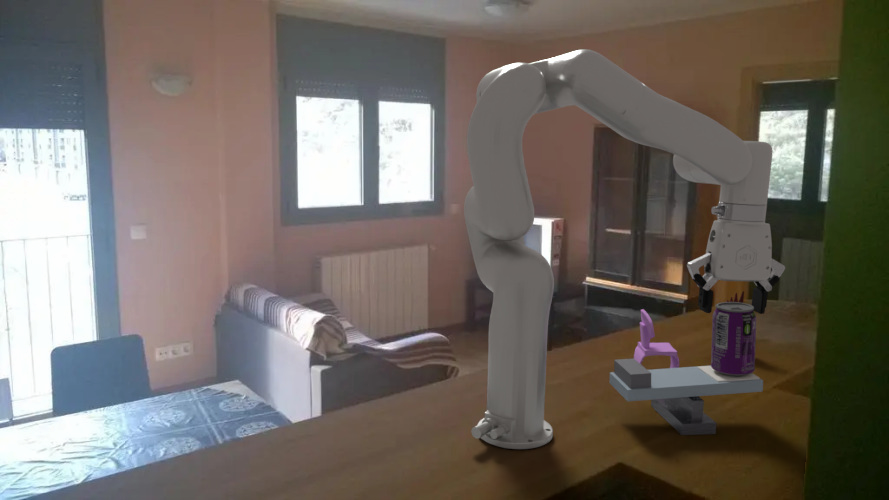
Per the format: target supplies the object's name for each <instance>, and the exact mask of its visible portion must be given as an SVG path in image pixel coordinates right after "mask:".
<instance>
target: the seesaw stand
mask: <svg viewBox="0 0 889 500" xmlns="http://www.w3.org/2000/svg"><path fill="white" fill-rule="evenodd" d="M650 402H651V403H650V407H652V409H653V410H655V412H657V414H659V416H661V417H662V418H663V419H664V420H665V422H667V423H669V425H670V426H671V427H672V428H673V429H675V430H676V431H677V433H679V434H680V436H699V435H700V436H701V435H716V434H717V433H716V432H717V422H716V421H715V420H713V419H712V418H711V417H710V416H709V415H708V414H706V413H705V412H704V405H705V400H704V399H703V398H701V396H695V397H681V398H668V399H654V400H651V401H650Z"/></svg>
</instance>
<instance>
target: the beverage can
mask: <svg viewBox="0 0 889 500" xmlns="http://www.w3.org/2000/svg"><path fill="white" fill-rule="evenodd" d="M753 310H754V307H753V306H752V304H749V303H744V302H743V303H739V301H738V302H734V301H733V302H730V301H729V302H726V301H723V302H718V303H716V304H715V310H714V311H713V313H712V322H711V323H712V324H711V325H712V327H711V328H712V329H711V357H710V358H711V360H710V362H711V363H710V365H711V367H712V368H713V369H714V370H716V371H718V372H719V373H721V374H723V375H727V376H734V377H739V376H745V375H747V374H750V373H754V372H755V364H756V344H757V343H756V338H757V315H756V314H755V313H756V312H755V311H753Z"/></svg>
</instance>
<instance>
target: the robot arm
mask: <svg viewBox="0 0 889 500" xmlns="http://www.w3.org/2000/svg"><path fill="white" fill-rule="evenodd" d="M475 96H476V97H475V99H476V104H475V106H474V108H473V110H472V113H471V114H470V115H471V116H470V118H469V121H468V127H467V132H466V150H467V151H466V152H467V157H468V163H469V164H468V165H469V170H470V176H471V181H472V186H471V187H470V188H469V190H468V191H467V194H466V195H465V199H464V203H463V204H464V205H463V215H464V220H465V221H464V222H465V226H466V230H467V236H468V239H469V244H470V249H471V253H472V258H473V261H474V264H475V269H476V272H477V276H478V278H479V280H480V281H481V283H482V284H483V285H484V286H485V287H486V288H487V289H488V290H489V291H491V292H492V294H493V295H492V296H493V297H492V305H491V310H490V314H489V315H490V316H489V324H488V351H487V352H488V354H487V355H488V356H487V357H488V358H487V384H486V385H487V389H486V391H487V392H486V394H487V395H486V411H485V412H484V417H483V418H481V419H480V420H479V421H478V423H477V425H475V426H472V428H471V431H470V432H471V433H470V434H471V435H472V437H473V438H474V439H477V440H478V439H481V440H482V441H484V442H486V443H487V444H490V445H492V446H495V447H499V448H503V449H509V450H511V449H512V450H530V449H534V448H535V449H536V448H539V447H542V446H544V445H547V444H548V443H550V441H551V440H552V439H553V432H554V429H553V426H551V424H550V423H549V422H547V421H546V420H545V405H546V404H545V403H546V402H545V399H546V378H547V377H546V375H547V356H548V355H547V352H548V348H547V347H548V346H547V345H548V330H549V329H548V326H549V317H550V311H551V304H552V299H553V296H554V288H555V277H554V272H553V269H552V266H551V265H550V262H548V260H547V258H546V257H544V255H543V254H542V253H540V252H539V251H537V250H535V249H534V248H531V247H528V246H527V245H526V243H525V238H524V237H525V236H526V235H527V234H529V232H530V230H531V229H532V227H533V224H534V222H535V207H534V202H533V197H532V192H531V189H530V184H529V178H528V175H527V171H526V165H525V157H524V152H523V138H524V136H523V135H524V133H525V130H526V129H525V128H526V127H527V124H528V123H529V121H530V120H531V118H532V117H533V116H534V115H536V114H541V113H545V112H550V111H553V110H557V109H561V108H566V107H570V106H571V107H572V106H575V107H578V108H579V109H580V110H582V111H583V112H585V113H586V114H588V115H590V117H591V116H592V117H593V118H594V119H596V120H598V121H599V122H600V123H602V124H603V125H605V126H606V127H608V128H610V129H611V130H612V131H614V132H615V133H616V134H618V135H619V136H621V137H622V138H624V139H627V140H628V141H632V142H634V143H636V144H638V145H639V144H640V145H643V146H646V147H651V148H655V149H659V150H661V151H665V152H668V153H670V154H673V159H672V165H673V168H674V170H675V172H676V173H677V175H679V176H680V177H681V178H682V179H684V180H686V181H688V182H692V183H696V184H697V183H699V184H711V185H719V186H720V191H719V199H718V200H719V202H718V203H717V205H715V206H712V207H711V209H710V210H711V212H710V213H711V214H712V215H716V218H717V220H716V219H715V220H714V221H713V223H712V224H711V225H712V226H711V229H710V232H709V236H708V239H707V245H706V248H705V254H703V255H701V256H699V257H697V258H695V259H693V260H691V261H688V262H687V264H686V267H687V270H688V272H689V274H690V278H691V280H693V282H694V283H695V284H696V286H697V287H698V288H699V290H698V301H697V304H698V309H699V310H700V311H702V312H704V313H706V314H711V313H712V309H713V300H714V291H713V290H712V287H713V286H714V285H715V284H716V283H717V282H718V281H719V280H720V281H723V282H753V283H754V284H755V286H756V287H754V288H753V290H752V298H751V305H752V306H753V307H754V310H753V311H754V313H758V314H759V315H761V314H762V315H764V314H765V311H766V308H767V306H768V305H767V303H768V295H769V292H770V291H771V292H772V289H773V287H774V286H775V285H776V284H777V283H778V282H779V281H780V277H782V274H783V273H784V272H785V270H786V265H784V264H782V263H781V262H779V261H777V260H776V259H774V258H772V257H773V255H772V252H773V250H772V249H773V244H772V241H773V240H772V231H771V224H770V223H766V215H767V208H768V197H769V189H770V188H769V187H770V181H771V180H770V178H771V171H772V163H773V152H774V150H773V147H772V145H771V143H768V142H766V141H756V140H744V139H743V140H742V138H740V137H739V136H738V135H737V134H735V133H734V132H733V131H731V130H730V129H728V128H727V127H725V126H724V125H722V124H721V123H719V122H718V121H717V120H714V119H713V118H711V117H710V116H708V115H706V114H703V113H701V112H700V111H697V110H695V109H692V108H691V107H689V106H686V105H684V104H682V103H680V102H677V101H676V100H673V99H671V98H669V97H666V96H663V95H662V94H660V93H658V92H656V91H655V90H653V89H652V88H650V87H649V86H648V85H646V84H644V83H643V82H642V81H641V80H639V79H637V78H636V77H635V76H633V75H632V74H631V73H628V72H627V71H626V70H624V69H623V68H621V67H620V66H619V65H617V64H615V62H613V61H611V60H610V59H608V58H607V57H606V56H604V55H602V54H601V53H600V52H598V51H595V50H592V49H588V48H587V49H586V48H585V49H584V48H583V49H578V50H577V49H576V50H573V51H570V52H567V53H563V54H561V55H556V56H555V57H551V58H547V59H542V60H539V61H538V60H537V61H534V62H530V63H528V62H514V63H510V64H506V65H503V66H501V67H498V68H496V69H493V70H491V71H490V72H487V73H486V74H485V75H484V76H483V77H482V78H481V80H480V81H479V83H478V85H477V88H476V94H475ZM701 267H704V268H703V269H704V274H703V275H701V273H700V268H701Z"/></svg>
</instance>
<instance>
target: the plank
mask: <svg viewBox="0 0 889 500" xmlns="http://www.w3.org/2000/svg"><path fill="white" fill-rule="evenodd" d="M613 362H614V364H613V365H614V370H613V371H611V372H609V384H610V385H611V386H612V387H613V388H614V389H615V390H616V391H617V393H618V394H620V396H621V397H622V398H624V400H626V402H637V401H638V402H639V401H650V400H654V399H668V398H681V397H695V396H699V397H705V396H706V397H707V396H718V395H719V396H721V395H732V394H734V395H735V394H745V393H757V392H758V393H760V392H762V393H763V390H764V380H763V379H762V378H760V377H759V376H758V375H757V374H754V372H752V373H750V374H747V375H745V376H739V377H734V376H727V375H723V374H721V373H719V372H718V371H716V370H714V369H713V368H712V367H711V364H710V365H700V366H683V367H682V366H681V367H679V368H670V367H668V368H666V367H665V368H656V369H655V368H654V369H647V368H646V367H645V366H644V365H643V364H642V363H641V364H640V363H639V362H637V361H636V360H635V359H634V357H633V358H622V359H621V358H620V359H614V360H613Z"/></svg>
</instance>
